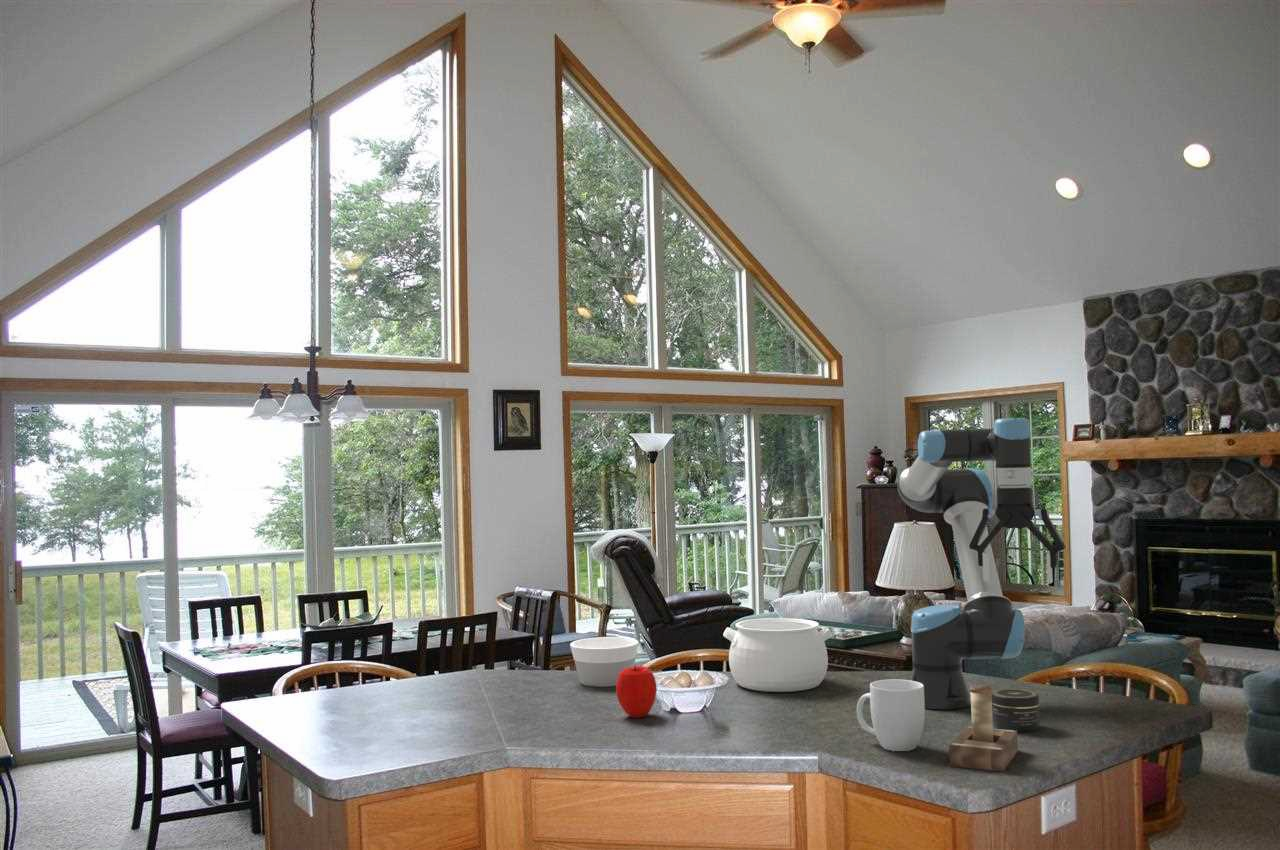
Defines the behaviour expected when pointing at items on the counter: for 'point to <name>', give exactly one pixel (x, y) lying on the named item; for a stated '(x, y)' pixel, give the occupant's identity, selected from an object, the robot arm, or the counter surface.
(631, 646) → the bowl
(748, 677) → the pot
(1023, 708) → the jar
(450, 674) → the counter surface
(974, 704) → the dowel
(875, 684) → the mug
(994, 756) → the socket board
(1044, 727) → the counter surface
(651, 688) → the apple
